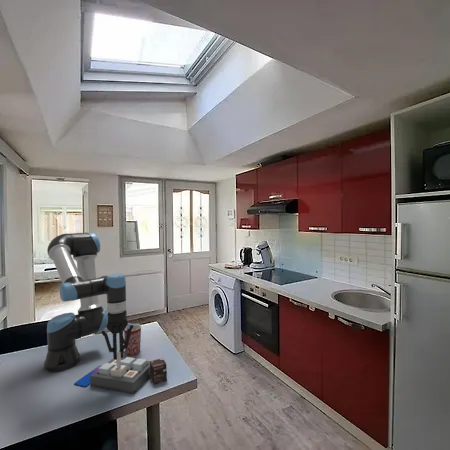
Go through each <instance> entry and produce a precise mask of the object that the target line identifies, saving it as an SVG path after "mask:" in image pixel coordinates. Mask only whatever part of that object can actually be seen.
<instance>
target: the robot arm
mask: <svg viewBox="0 0 450 450" xmlns="http://www.w3.org/2000/svg"><path fill="white" fill-rule="evenodd" d="M100 251H101V243H100V238H99V237H98V235H97V234H96V233H94V232H75V233H74V232H73V233H62V234H59V235H57V236H55V237H54V238H53V239H52V240H50V242H49V244H48V246H47V255H48V258H49V259H51V260H52V261H53V263H54V266H55V269H56V270H57V273H58V275H59V276H58V277H59V279H60V281H61V282H62V283H61V284H60V286H59V296H60V299H61V301H62V302H72V301H78V300H79V302H80V307H79V308H78V309H77V314H75V313H74V312H65V313H61V314H58V315H55V316H54V317H52V318H50V319H49V320H48V322H47V324H46V327H47V328H46V334H47V336H46V337H47V353H46V357H45V360H44V362H43V370H44V371H45V372H49V373H54V372H55V373H56V372H62V371H65V370H68V369H71V368H72V367H74V366H76V365H77V364H79V362H80V361H81V355H80V352H79V350H78V348H77V345H76V340H77V339H81V338H84V337H88V336H91V335H93V334H98V333H100V332H101V335H103V337H104V340H105V343H106V346H107V349H108V352H109V353H113V355H112V356H113V358H114V360H116V365H117V368H119V367H121V358H124V350H125V348H128V343H129V339H130V334H131V330H132V328H133V324H134V323H131V322H128V319H127V317H128V315H127V289H126V288H127V287H126V286H127V284H126V283H127V281H126V276H125V274H122V273H114V274H113V273H112V274H109V275H100V276H99V277H97V272H96V271H97V270H96V263H95V262H96V261H95V259H96V258H97V257H98V253H100ZM75 261H76V262H75ZM102 295H106V306H107V307H106V308H107V309H106V308H103V304H100V302H99V296H102ZM126 326H127V328H128V329H127V333H126V338H125V337H124V330H125V328H126ZM109 332H110V333H111V334H112V346H111V342H110V339H109V336H108V335H109V334H108V333H109ZM117 334H118V340H119V342H118V343H119V349H118V348H117V347H118V345H117V341H118V340H117ZM123 337H124V339H125V342H124V344H123ZM113 358H112V359H113Z"/></svg>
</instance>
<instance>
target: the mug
mask: <svg viewBox="0 0 450 450" xmlns="http://www.w3.org/2000/svg"><path fill="white" fill-rule="evenodd" d="M132 324H133V328H132V330H131V334H130V339H129V343H128V348H125V349H124V350H125V355H126V356H128V357H130V356H135V355H138V354H140V352H141V337H142V336H141V335H142V325H141V324H139V323H132ZM127 329H128V328H127V326H126V328H125V330H124V331H123V345H124V342H125V338H126V333H127Z"/></svg>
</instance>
